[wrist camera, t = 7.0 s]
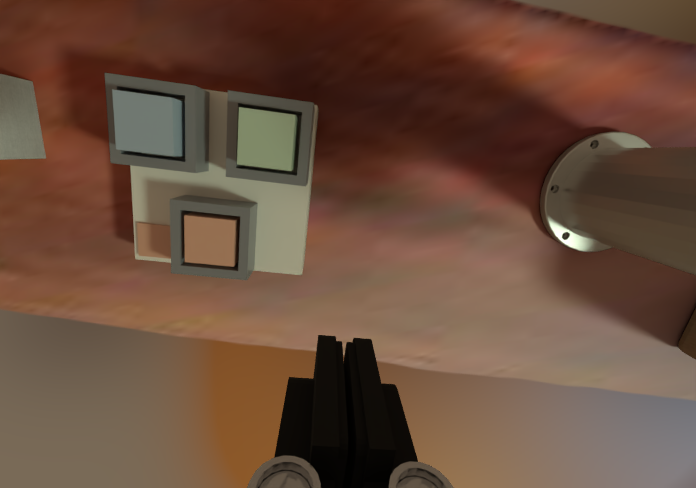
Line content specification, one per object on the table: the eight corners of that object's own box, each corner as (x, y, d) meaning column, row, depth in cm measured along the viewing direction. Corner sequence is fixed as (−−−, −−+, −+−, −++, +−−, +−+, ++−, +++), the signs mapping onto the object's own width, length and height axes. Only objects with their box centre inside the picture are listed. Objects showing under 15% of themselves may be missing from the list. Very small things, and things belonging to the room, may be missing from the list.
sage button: (298, 118, 27) (295, 114, 25) (294, 169, 28) (290, 171, 26) (246, 110, 27) (238, 107, 24) (244, 163, 28) (237, 164, 25)
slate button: (186, 102, 26) (172, 97, 24) (186, 155, 27) (173, 156, 25) (131, 95, 26) (112, 89, 23) (134, 149, 27) (116, 149, 25)
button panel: (318, 109, 31) (316, 100, 26) (303, 265, 36) (298, 287, 30) (145, 85, 30) (101, 69, 24) (151, 249, 34) (115, 270, 28)
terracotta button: (242, 215, 30) (235, 220, 28) (240, 258, 31) (233, 266, 29) (195, 210, 30) (184, 215, 27) (195, 253, 31) (184, 261, 28)
